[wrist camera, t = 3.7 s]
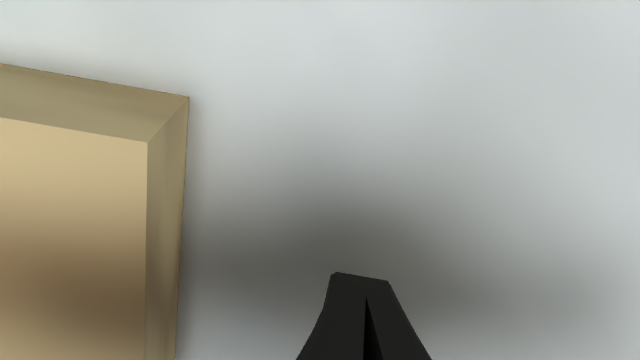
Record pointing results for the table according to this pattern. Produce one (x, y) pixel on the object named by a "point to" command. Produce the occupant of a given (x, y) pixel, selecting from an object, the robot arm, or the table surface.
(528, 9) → the table surface
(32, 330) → the oak slab
